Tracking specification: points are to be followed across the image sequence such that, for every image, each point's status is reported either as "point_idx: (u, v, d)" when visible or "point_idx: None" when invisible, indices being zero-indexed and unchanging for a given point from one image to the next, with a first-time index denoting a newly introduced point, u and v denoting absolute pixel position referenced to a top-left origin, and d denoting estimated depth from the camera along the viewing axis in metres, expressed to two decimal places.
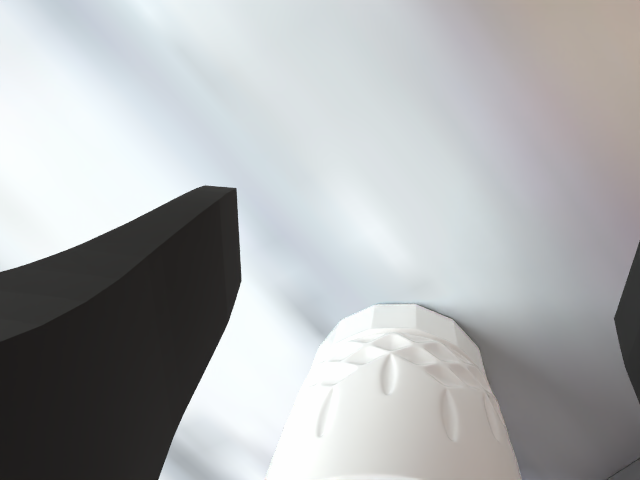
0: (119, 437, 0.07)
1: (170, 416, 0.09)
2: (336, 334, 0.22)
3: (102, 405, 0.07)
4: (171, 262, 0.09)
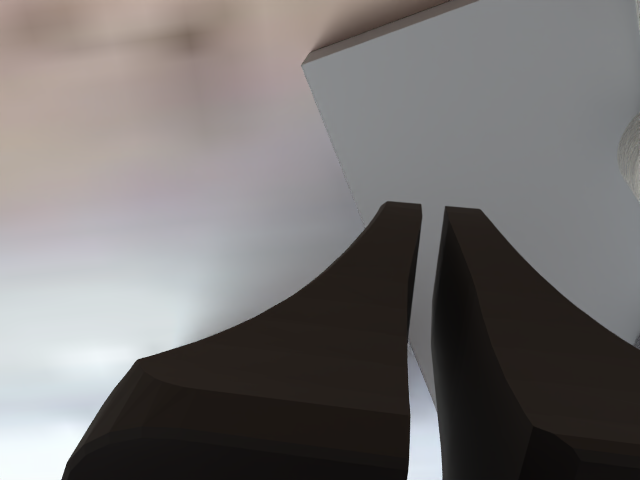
0: None
1: None
2: None
3: None
4: (408, 286, 0.08)
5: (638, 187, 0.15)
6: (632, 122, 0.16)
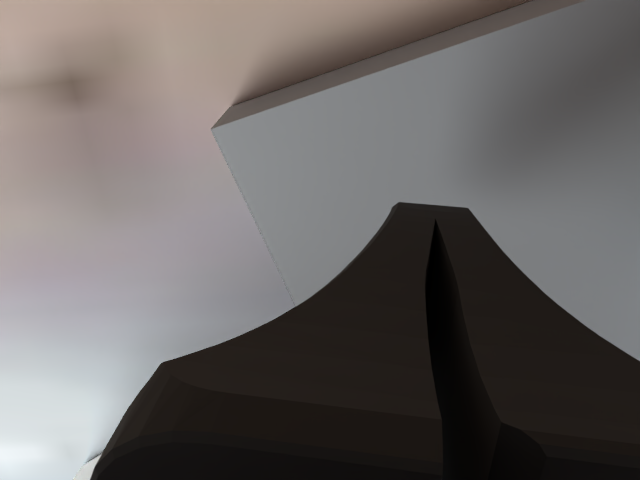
0: None
1: None
2: None
3: None
4: None
5: None
6: None
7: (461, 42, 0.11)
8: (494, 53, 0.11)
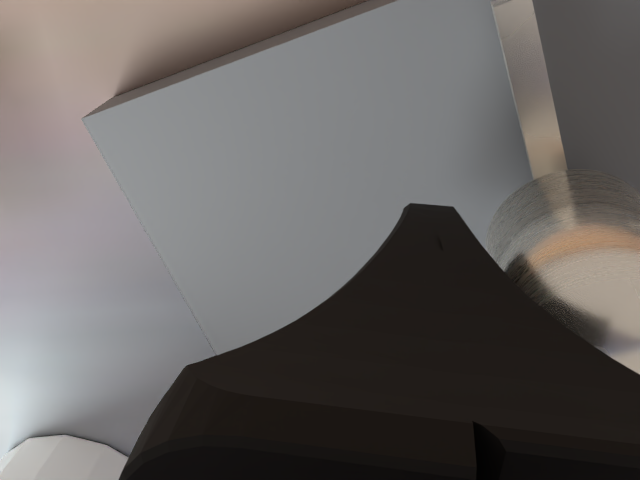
0: None
1: None
2: None
3: None
4: None
5: None
6: (500, 209, 0.11)
7: (307, 34, 0.12)
8: (339, 44, 0.12)
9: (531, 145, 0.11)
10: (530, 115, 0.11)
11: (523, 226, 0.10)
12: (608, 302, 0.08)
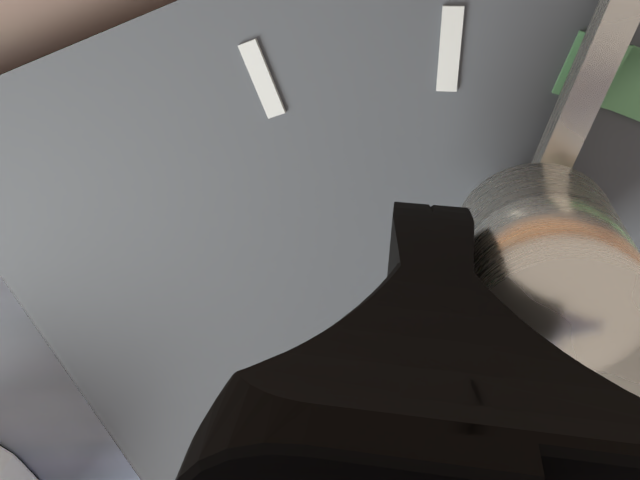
0: None
1: None
2: None
3: None
4: None
5: None
6: (501, 173, 0.11)
7: None
8: (102, 53, 0.13)
9: (558, 132, 0.11)
10: (574, 105, 0.11)
11: (531, 194, 0.10)
12: (605, 285, 0.08)
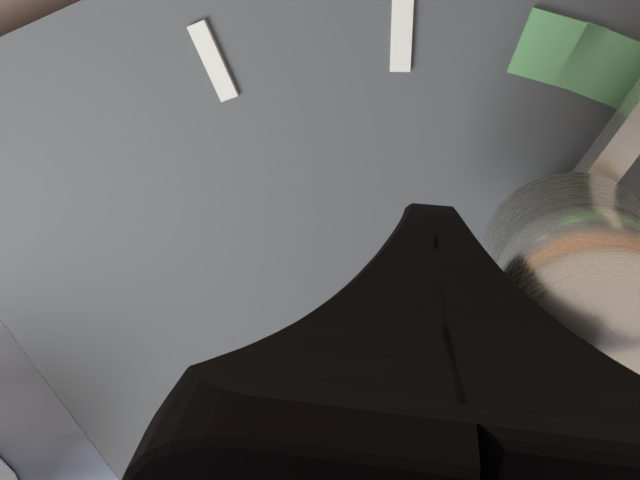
0: None
1: None
2: None
3: None
4: None
5: (513, 255, 0.10)
6: (551, 177, 0.11)
7: (21, 27, 0.13)
8: (51, 36, 0.13)
9: (612, 146, 0.11)
10: (636, 121, 0.11)
11: (587, 204, 0.10)
12: None
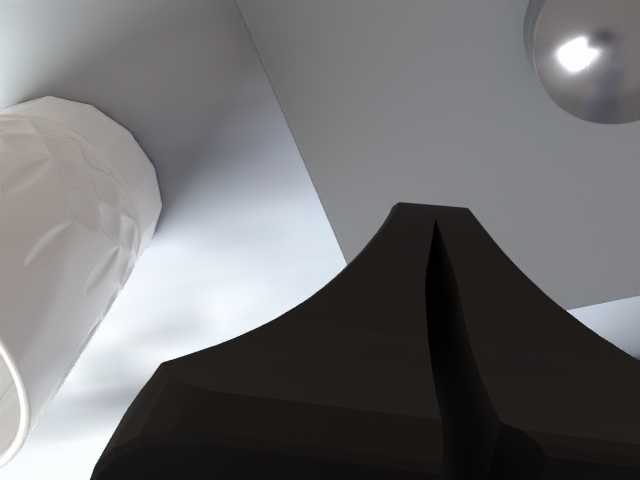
0: None
1: None
2: None
3: None
4: None
5: None
6: None
7: None
8: None
9: None
10: None
11: None
12: None
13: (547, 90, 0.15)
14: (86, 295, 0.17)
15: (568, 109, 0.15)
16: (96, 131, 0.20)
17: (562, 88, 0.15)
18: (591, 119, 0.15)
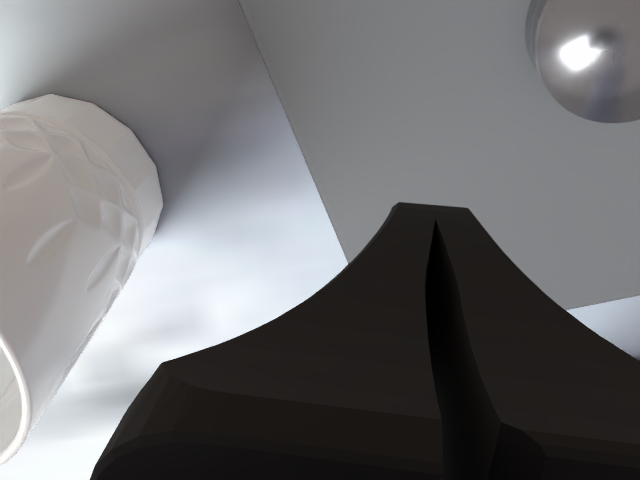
0: None
1: None
2: None
3: None
4: None
5: None
6: None
7: None
8: None
9: None
10: None
11: None
12: None
13: (549, 89, 0.15)
14: (88, 292, 0.17)
15: (570, 108, 0.15)
16: (98, 129, 0.20)
17: (564, 87, 0.15)
18: (593, 118, 0.15)
